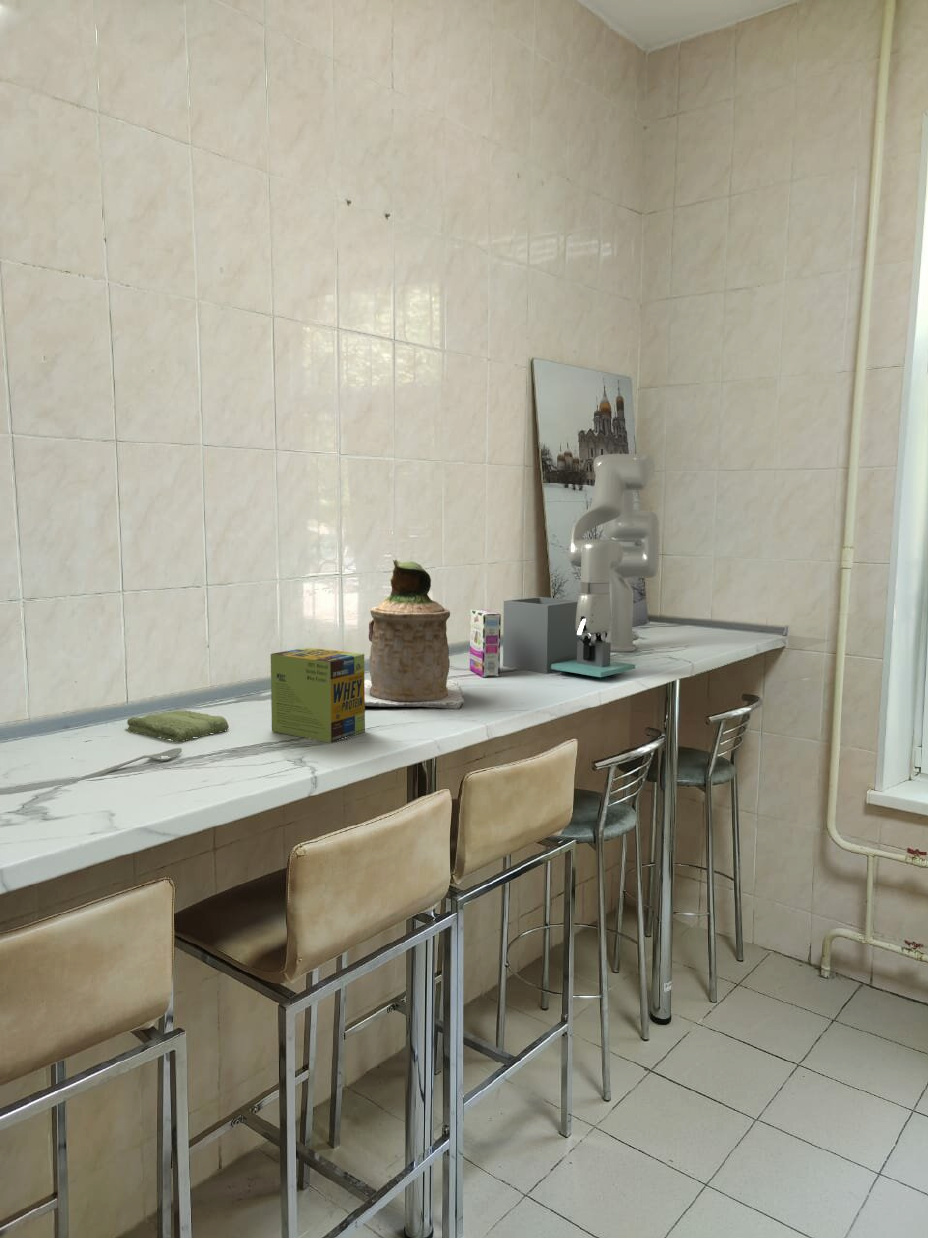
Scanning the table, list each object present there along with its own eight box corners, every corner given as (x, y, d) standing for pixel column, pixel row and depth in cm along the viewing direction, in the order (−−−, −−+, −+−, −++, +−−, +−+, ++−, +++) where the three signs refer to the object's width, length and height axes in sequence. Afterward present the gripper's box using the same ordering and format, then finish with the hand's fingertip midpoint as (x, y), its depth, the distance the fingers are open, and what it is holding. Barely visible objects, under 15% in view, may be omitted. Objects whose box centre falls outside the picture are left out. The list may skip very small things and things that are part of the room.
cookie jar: (466, 709, 193) (467, 562, 189) (351, 710, 192) (350, 562, 187) (458, 686, 218) (459, 555, 214) (357, 687, 216) (356, 555, 212)
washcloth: (179, 718, 185) (178, 703, 185) (233, 732, 174) (232, 716, 174) (121, 731, 175) (120, 715, 174) (175, 747, 164) (175, 729, 164)
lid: (586, 661, 244) (587, 635, 243) (635, 669, 233) (636, 641, 232) (551, 668, 232) (551, 641, 232) (600, 677, 222) (601, 648, 221)
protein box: (331, 743, 165) (330, 661, 163) (270, 732, 173) (268, 653, 171) (366, 731, 174) (366, 653, 172) (307, 721, 182) (305, 646, 180)
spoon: (188, 758, 156) (187, 749, 156) (73, 786, 141) (73, 776, 140) (174, 754, 159) (174, 745, 159) (61, 781, 143) (60, 771, 143)
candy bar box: (501, 677, 229) (501, 613, 227) (482, 678, 228) (483, 614, 225) (486, 669, 240) (487, 608, 237) (468, 670, 238) (469, 609, 236)
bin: (537, 659, 255) (538, 596, 253) (580, 666, 245) (582, 601, 242) (502, 666, 244) (503, 600, 242) (546, 673, 234) (547, 605, 232)
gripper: (601, 586, 239) (599, 653, 241) (564, 590, 227) (562, 661, 229) (625, 588, 233) (623, 657, 236) (588, 592, 222) (586, 665, 224)
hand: (593, 658), depth 232 cm, fingers closed on lid, 3 cm apart
